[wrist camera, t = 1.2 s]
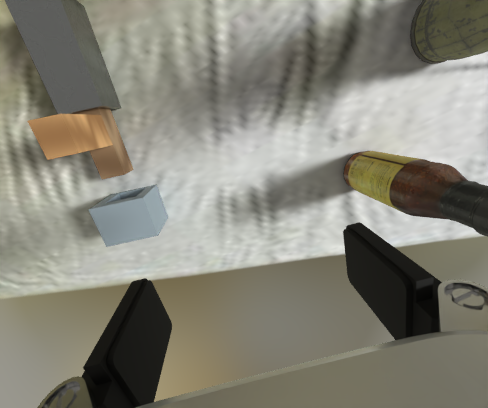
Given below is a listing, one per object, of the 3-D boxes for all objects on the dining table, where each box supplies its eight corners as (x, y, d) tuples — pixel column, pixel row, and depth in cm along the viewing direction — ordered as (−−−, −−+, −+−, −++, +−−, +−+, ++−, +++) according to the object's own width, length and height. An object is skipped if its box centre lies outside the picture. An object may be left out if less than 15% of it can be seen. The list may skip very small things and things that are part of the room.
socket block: (110, 194, 34) (88, 209, 28) (156, 184, 34) (143, 197, 28) (124, 226, 36) (106, 246, 30) (168, 217, 36) (157, 235, 30)
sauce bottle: (350, 195, 37) (474, 271, 19) (335, 163, 35) (460, 212, 17) (387, 174, 37) (555, 231, 18) (374, 140, 34) (550, 164, 16)
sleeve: (41, 15, 26) (1, -8, 21) (83, 6, 26) (53, -19, 21) (84, 115, 30) (58, 115, 25) (121, 107, 30) (102, 105, 25)
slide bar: (47, 20, 26) (-54, -37, 16) (74, 14, 26) (-13, -46, 16) (112, 174, 32) (66, 196, 23) (133, 169, 32) (96, 190, 23)
